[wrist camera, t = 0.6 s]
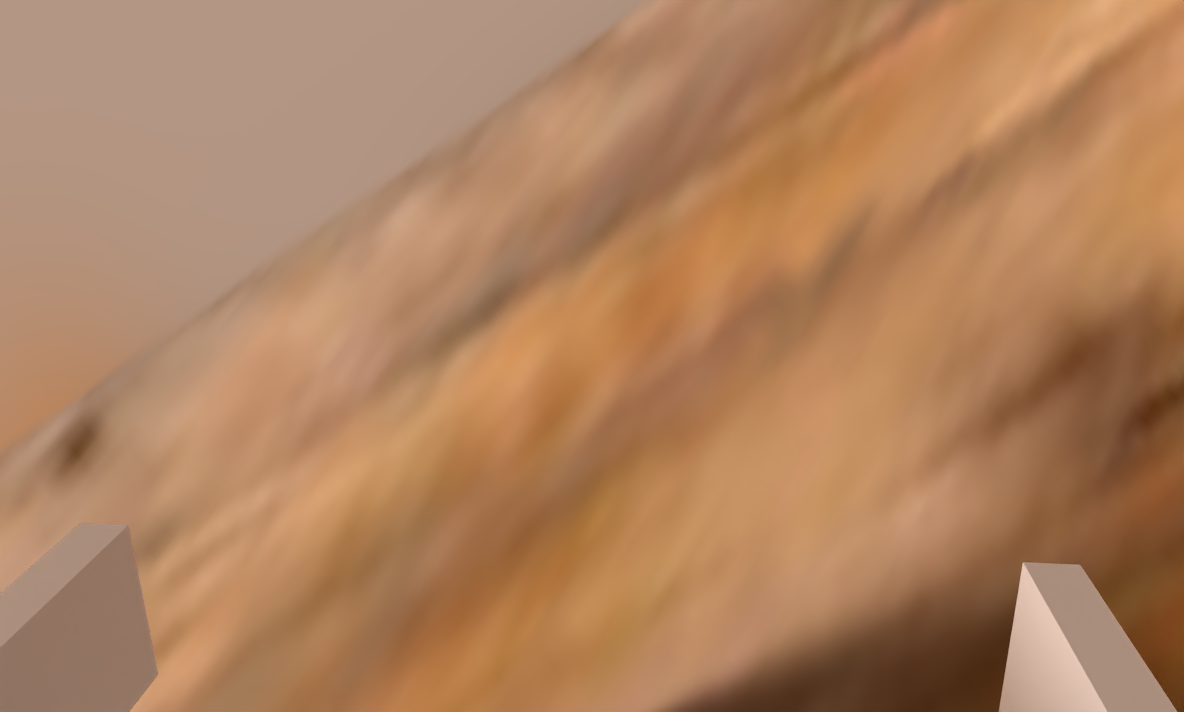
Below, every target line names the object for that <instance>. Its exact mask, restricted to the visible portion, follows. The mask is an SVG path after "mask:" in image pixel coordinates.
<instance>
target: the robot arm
mask: <svg viewBox="0 0 1184 712" xmlns="http://www.w3.org/2000/svg"><path fill="white" fill-rule="evenodd" d="M157 675H158V671H157V666H156V661H155V655H154V650H153V645H152V640H151V635H150V630H149V625H148V620H147V615H146V610H145V605H144V600H143V595H142V590H141V585H140V580H139V575H138V570H137V565H136V560H135V555H134V550H133V545H132V540H131V535H130V530H129V525H118V524H94V523H80V524H79V525H78V526H77V527H76V528H75V529H73V530H72V531H71V532H70V533H69V534H68V535H67V536H65V537H64V538H63V539H62V540H61V541H60V542H59V543H57V544H56V545H55V546H54V547H53V548H52V549H51V550H49V551H48V552H47V553H46V554H45V555H44V556H43V557H42V558H40V559H39V560H38V561H37V562H36V563H35V564H34V565H32V566H31V567H30V568H29V569H28V570H27V571H26V572H24V573H23V574H22V575H21V576H20V577H19V578H18V579H16V580H15V581H14V582H13V583H12V584H11V585H10V586H9V587H7V588H6V589H5V590H4V591H3V592H2V593H1V594H0V712H129V711H130V710H131V709H132V708H133V706H134V705H135V704H136V702H137V701H138V700H139V699H140V697H141V696H142V695H143V693H144V692H145V691H146V690H147V688H148V687H149V686H150V684H151V683H152V682H153V681H154V679H155V678H156V677H157ZM999 712H1177V711H1176V709H1175V708H1174V706H1173V704H1172V703H1171V701H1170V700H1169V698H1168V697H1167V695H1166V694H1165V692H1164V691H1163V689H1162V688H1161V686H1160V685H1159V683H1158V682H1157V680H1156V679H1155V677H1154V676H1153V674H1152V673H1151V671H1150V670H1149V668H1148V667H1147V665H1146V664H1145V662H1144V661H1143V659H1142V658H1141V656H1140V654H1139V653H1138V651H1137V650H1136V648H1135V647H1134V645H1133V644H1132V642H1131V641H1130V639H1129V638H1128V636H1127V635H1126V633H1125V632H1124V630H1123V629H1122V627H1121V626H1120V624H1119V623H1118V621H1117V620H1116V618H1115V617H1114V615H1113V614H1112V612H1111V611H1110V609H1109V608H1108V606H1107V605H1106V603H1105V601H1104V600H1103V598H1102V597H1101V595H1100V594H1099V592H1098V591H1097V589H1096V588H1095V586H1094V585H1093V583H1092V582H1091V580H1090V579H1089V577H1088V576H1087V574H1086V573H1085V571H1084V570H1083V568H1082V567H1081V565H1076V564H1052V563H1028V562H1023V566H1022V572H1021V578H1020V584H1019V590H1018V596H1017V602H1016V608H1015V615H1014V621H1013V627H1012V633H1011V639H1010V645H1009V651H1008V658H1007V664H1006V670H1005V676H1004V682H1003V688H1002V694H1001V701H1000V707H999Z"/></svg>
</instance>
